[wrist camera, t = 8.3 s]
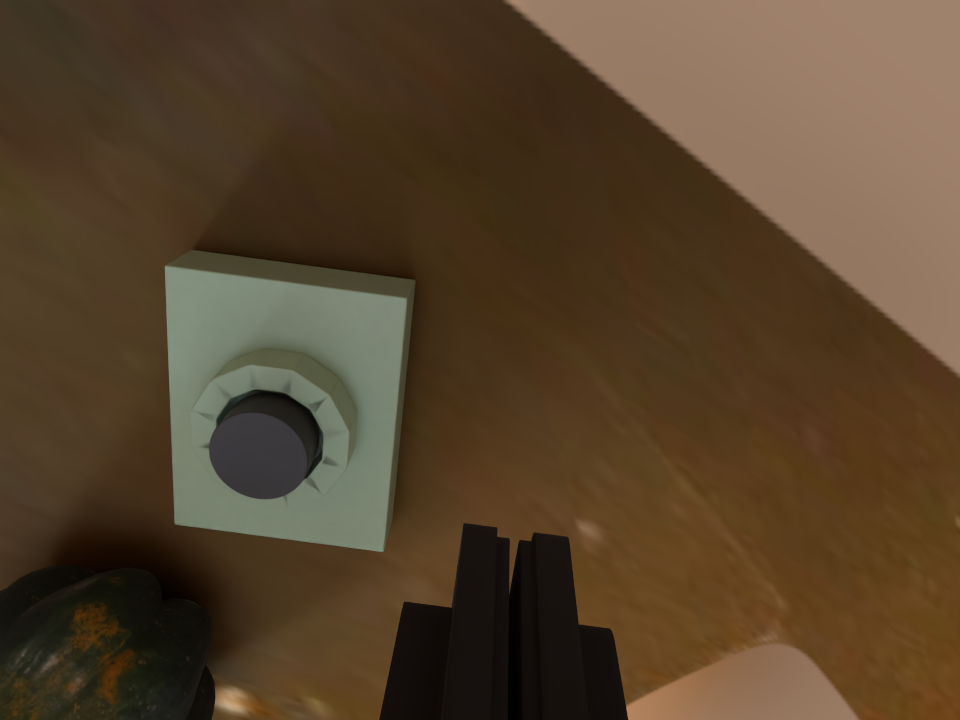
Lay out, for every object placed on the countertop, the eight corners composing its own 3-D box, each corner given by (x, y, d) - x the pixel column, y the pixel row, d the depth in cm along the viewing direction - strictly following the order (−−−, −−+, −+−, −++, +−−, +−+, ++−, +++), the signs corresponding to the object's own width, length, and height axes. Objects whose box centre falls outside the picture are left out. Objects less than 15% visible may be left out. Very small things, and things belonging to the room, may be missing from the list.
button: (224, 386, 33) (207, 405, 31) (321, 399, 33) (309, 419, 31) (225, 469, 35) (209, 493, 33) (317, 481, 35) (306, 505, 33)
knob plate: (191, 249, 36) (143, 277, 31) (415, 279, 36) (401, 312, 31) (196, 493, 41) (156, 548, 36) (392, 519, 41) (377, 577, 36)
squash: (301, 727, 40) (3, 844, 27) (155, 844, 45) (-153, 987, 32) (213, 507, 46) (-64, 521, 34) (92, 632, 51) (-186, 684, 39)
